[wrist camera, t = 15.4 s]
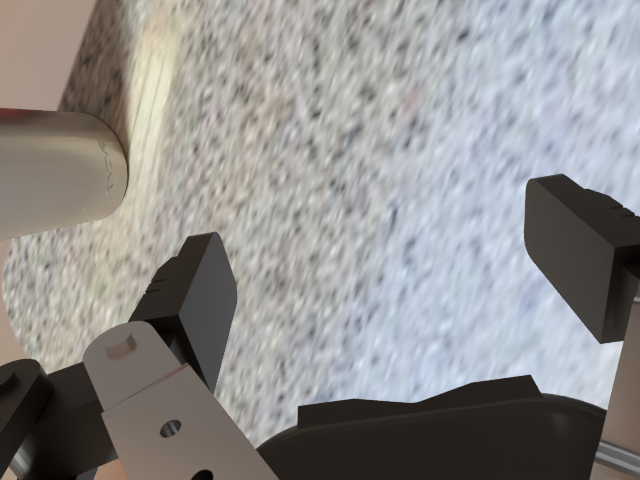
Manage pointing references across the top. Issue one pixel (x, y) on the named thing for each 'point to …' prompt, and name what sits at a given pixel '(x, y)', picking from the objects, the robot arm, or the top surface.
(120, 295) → the top surface
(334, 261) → the top surface
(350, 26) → the top surface
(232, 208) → the top surface
